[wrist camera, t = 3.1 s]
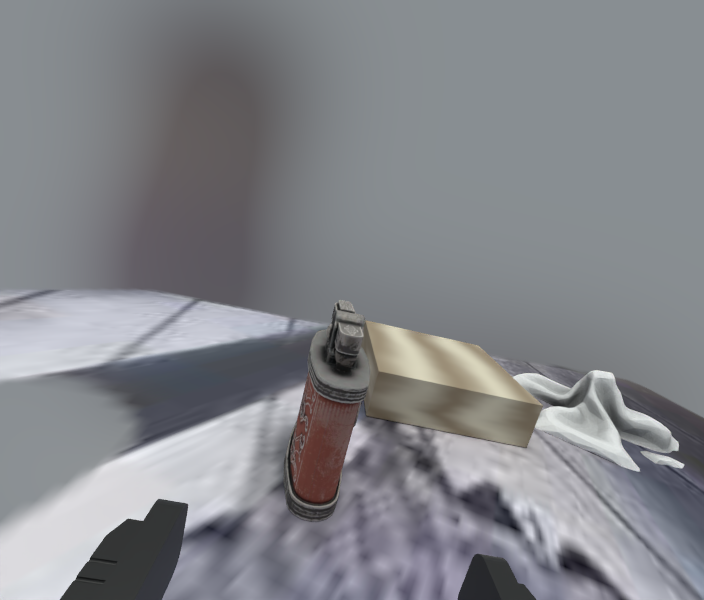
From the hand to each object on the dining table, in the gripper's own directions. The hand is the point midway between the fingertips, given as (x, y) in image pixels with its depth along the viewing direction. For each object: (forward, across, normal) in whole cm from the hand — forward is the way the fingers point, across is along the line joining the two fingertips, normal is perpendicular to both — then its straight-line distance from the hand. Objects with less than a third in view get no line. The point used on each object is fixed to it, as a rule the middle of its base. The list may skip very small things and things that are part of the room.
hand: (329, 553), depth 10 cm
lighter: (+11, 0, +6) cm, 13 cm away
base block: (+25, -11, +6) cm, 28 cm away
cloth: (+27, -32, +7) cm, 42 cm away
